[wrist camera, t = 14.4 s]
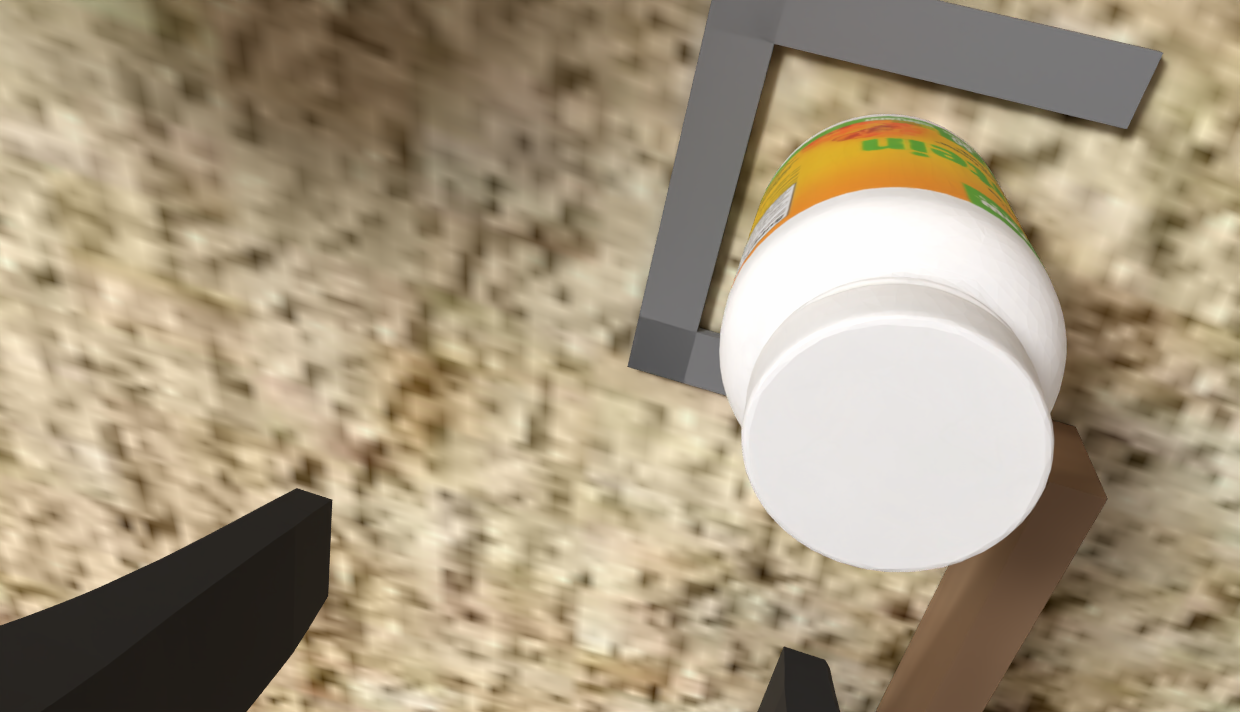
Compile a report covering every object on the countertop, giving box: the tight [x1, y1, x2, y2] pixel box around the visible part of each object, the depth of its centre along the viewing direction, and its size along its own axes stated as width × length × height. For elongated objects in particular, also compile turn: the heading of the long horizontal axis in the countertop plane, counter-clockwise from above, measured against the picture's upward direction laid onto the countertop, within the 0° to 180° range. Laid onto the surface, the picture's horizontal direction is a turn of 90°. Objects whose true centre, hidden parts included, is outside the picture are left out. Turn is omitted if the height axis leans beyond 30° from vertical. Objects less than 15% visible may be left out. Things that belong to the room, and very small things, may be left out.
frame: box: [628, 0, 1163, 396], centre depth 20 cm, size 9×10×1 cm
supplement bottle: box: [719, 114, 1067, 572], centre depth 16 cm, size 5×5×10 cm
